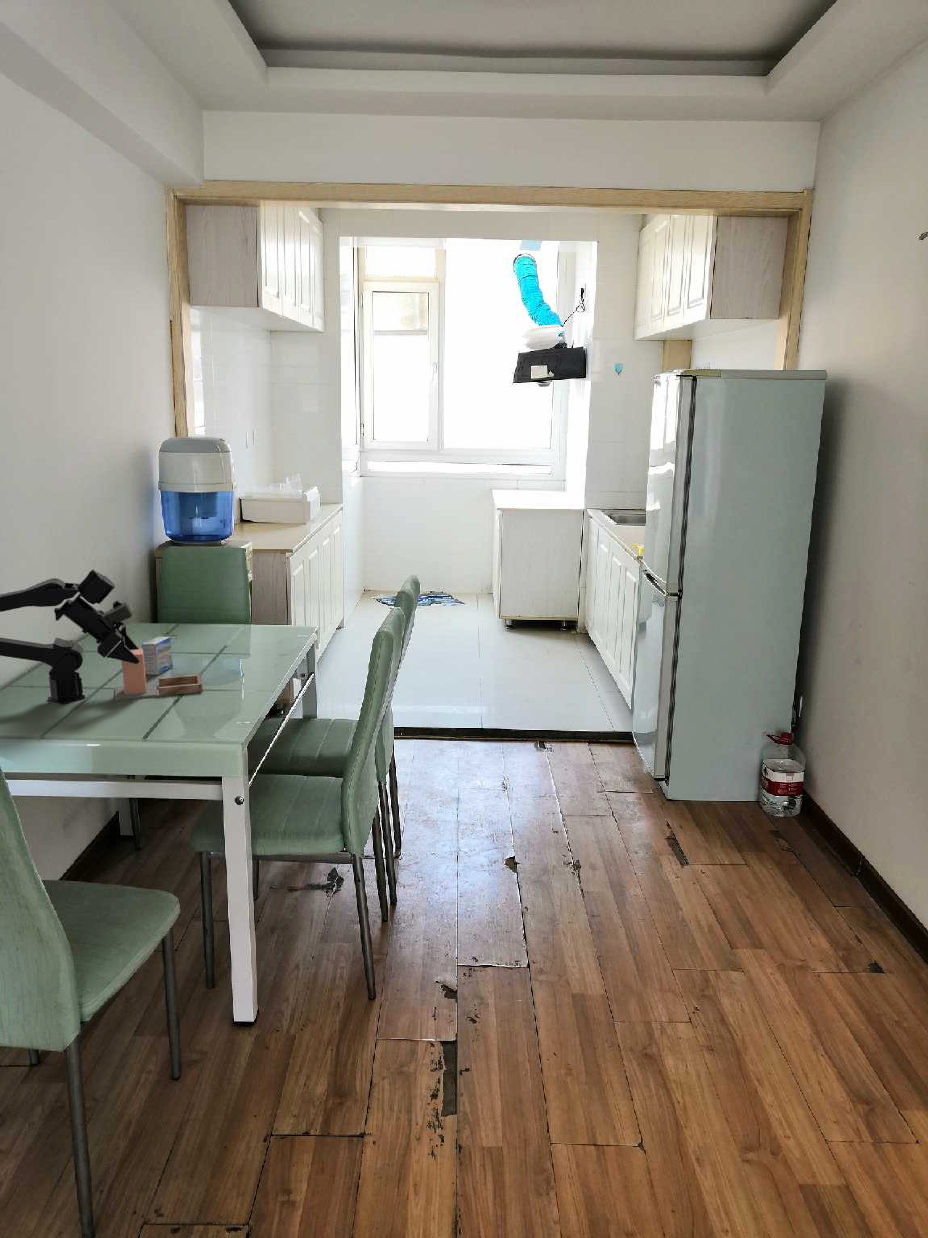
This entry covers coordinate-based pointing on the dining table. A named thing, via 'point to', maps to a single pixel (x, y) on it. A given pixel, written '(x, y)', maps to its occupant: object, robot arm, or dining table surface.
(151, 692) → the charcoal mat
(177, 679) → the frame
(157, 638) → the medicine box
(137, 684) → the salmon orange rectangular block
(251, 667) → the dining table surface
